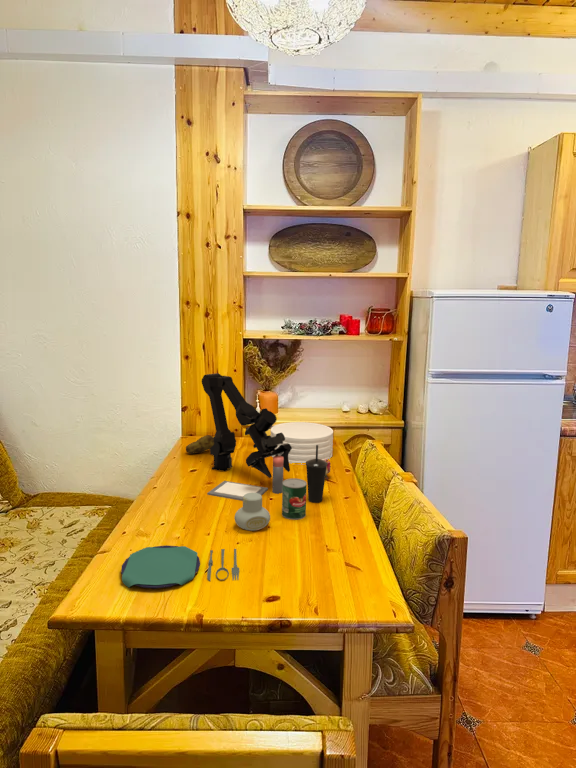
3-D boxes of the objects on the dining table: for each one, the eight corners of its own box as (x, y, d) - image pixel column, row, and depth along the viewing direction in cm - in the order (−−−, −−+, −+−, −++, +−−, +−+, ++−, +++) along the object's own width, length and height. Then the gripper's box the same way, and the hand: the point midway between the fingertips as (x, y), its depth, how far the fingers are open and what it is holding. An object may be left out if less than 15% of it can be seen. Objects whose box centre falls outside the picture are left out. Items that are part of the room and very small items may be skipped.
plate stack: (261, 460, 218) (261, 434, 216) (281, 442, 245) (281, 419, 243) (324, 467, 210) (325, 441, 208) (337, 448, 237) (338, 425, 235)
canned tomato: (289, 507, 170) (290, 476, 168) (310, 513, 166) (311, 481, 164) (277, 516, 163) (277, 483, 162) (298, 522, 159) (299, 489, 158)
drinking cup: (324, 505, 172) (326, 449, 169) (302, 503, 174) (304, 447, 170) (327, 497, 180) (329, 443, 176) (306, 494, 181) (307, 441, 178)
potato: (188, 450, 230) (187, 433, 228) (216, 450, 230) (216, 433, 229) (184, 455, 222) (184, 438, 220) (214, 456, 222) (214, 438, 220)
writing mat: (207, 494, 180) (207, 492, 179) (224, 482, 192) (224, 479, 191) (253, 502, 173) (253, 500, 173) (268, 489, 185) (268, 487, 185)
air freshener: (264, 518, 162) (265, 489, 160) (273, 529, 154) (273, 498, 152) (231, 523, 158) (231, 493, 156) (238, 535, 150) (239, 503, 148)
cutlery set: (129, 552, 139) (129, 544, 139) (238, 550, 143) (238, 542, 142) (113, 595, 120) (112, 586, 119) (239, 591, 123) (239, 583, 123)
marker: (270, 492, 183) (271, 458, 180) (274, 488, 186) (275, 455, 184) (280, 494, 181) (281, 459, 179) (284, 490, 185) (285, 456, 182)
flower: (336, 471, 201) (326, 454, 202) (337, 474, 192) (325, 457, 192) (316, 484, 202) (305, 467, 202) (315, 488, 192) (304, 470, 193)
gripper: (251, 430, 176) (272, 469, 170) (289, 422, 189) (309, 457, 183) (236, 447, 183) (256, 484, 177) (274, 438, 196) (294, 472, 190)
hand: (280, 474), depth 182 cm, fingers open, 9 cm apart
